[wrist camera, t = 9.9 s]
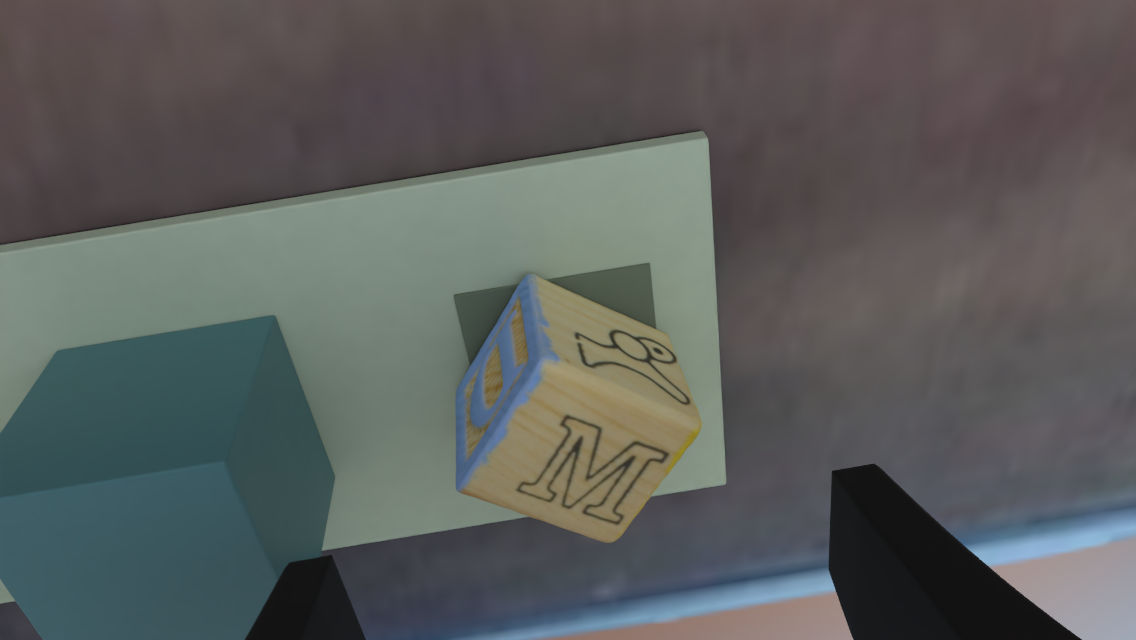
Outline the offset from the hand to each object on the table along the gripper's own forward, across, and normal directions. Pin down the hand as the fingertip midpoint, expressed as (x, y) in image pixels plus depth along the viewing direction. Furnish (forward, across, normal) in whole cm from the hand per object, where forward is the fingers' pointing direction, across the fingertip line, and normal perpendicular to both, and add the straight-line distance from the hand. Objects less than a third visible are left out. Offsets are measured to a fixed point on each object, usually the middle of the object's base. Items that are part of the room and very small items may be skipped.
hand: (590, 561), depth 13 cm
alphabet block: (+5, 0, 0) cm, 5 cm away
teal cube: (+5, +7, 0) cm, 9 cm away
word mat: (+6, +7, 0) cm, 9 cm away
